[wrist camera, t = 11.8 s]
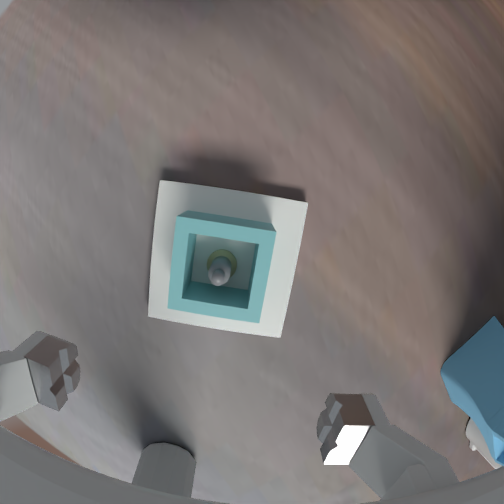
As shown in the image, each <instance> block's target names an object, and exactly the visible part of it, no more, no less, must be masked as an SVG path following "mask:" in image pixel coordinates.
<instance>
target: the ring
mask: <svg viewBox="0 0 504 504" xmlns="http://www.w3.org/2000/svg"><path fill="white" fill-rule="evenodd" d="M197 234H199V235H206V236H212V237H218V238H225V239H231V240H237V241H244V242H250V243H256V245H255V251H254V257H253V263H252V268H251V274H250V280H249V286H248V290H245V289H238V288H232V287H226V286H215V285H213V284H207V283H201V282H195V281H191V277H192V269H193V260H194V252H195V244H196V236H197ZM275 238H276V230H275V228H274V226H273V225H272V224H271V223H266V222H259V221H253V220H247V219H241V218H235V217H228V216H222V215H216V214H209V213H202V212H196V211H189V210H187V211H185V212H183V213H182V214H180V215H178V216H176V224H175V233H174V242H173V251H172V260H171V271H170V282H169V294H168V307H167V308H168V309H173V310H179V311H184V312H190V313H195V314H201V315H207V316H213V317H219V318H226V319H232V320H239V321H246V322H253V323H259V322H260V317H261V311H262V306H263V301H264V296H265V291H266V286H267V280H268V275H269V270H270V265H271V259H272V254H273V249H274V243H275Z"/></svg>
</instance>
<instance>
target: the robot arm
mask: <svg viewBox="0 0 504 504" xmlns="http://www.w3.org/2000/svg"><path fill="white" fill-rule="evenodd" d="M77 356H78V351H77V346H76V345H75V344H73V343H71V342H68V341H65V340H63V339H60V338H57V337H55V336H52V335H49V334H47V333H44V332H42V331H36V332H35V333H34V334H32V335H31V336H30V337H29V338H28V339H26V340H25V341H24V342H23V343H22V344H20V345H19V346H18V347H17V348H16V349H15V350H13V351H12V352H11V351H9V350H8V351H3V352H0V421H2V420H5V419H7V418H9V417H11V416H14V415H16V414H18V413H20V412H22V411H24V410H27V409H29V408H31V407H33V406H35V405H37V404H38V403H40V404H42V405H45V406H47V407H49V408H52V409H54V410H57V411H60V409H61V408H62V407H63V405H64V404H65V403H66V401H67V400H68V398H67V394H68V393H71V392H73V391H74V390H75V389H76V387H77V386H78V383H79V380H80V366H79V364H78V363H77V362H76V360H75V359H76V357H77ZM325 404H326V409H325V410H323V411H322V412H321V413H320V416H319V418H318V422H317V437H318V439H319V440H320V441H321V442H322V443H323V444H322V446H321V448H320V451H321V455H322V459H323V464H349V466H350V467H351V468H352V470H353V471H354V472H355V473H356V474H357V475H358V476H359V477H360V478H361V479H362V480H363V481H364V482H365V483H366V484H367V485H368V486H369V487H370V488H371V489H372V490H373V491H374V492H375V493H376V494H377V495H378V496H379V497H380V498H381V499H380V501H376V502H369V503H361V504H504V466H502V465H500V464H498V463H496V462H495V461H494V459H493V458H492V456H491V454H490V451H489V449H488V446H487V444H486V442H485V439H484V437H483V435H482V433H481V432H480V430H479V428H478V427H477V425H476V424H475V422H474V421H473V420H472V419H471V418H470V420H469V422H468V425H467V428H466V436H467V438H468V439H469V440H470V448H471V449H472V450H476V449H477V450H478V451H479V452H480V453H481V454H482V455H483V456H484V458H485V459H486V460H487V461H488V462H489V463H490V464H491V465H492V466H493V467H494V468H495V470H493V471H490V472H487V473H485V474H482V475H480V476H477V477H474V478H471V479H468V480H465V481H462V482H459V480H458V478H457V476H456V475H455V473H454V471H453V469H452V467H451V466H450V464H449V462H448V460H447V459H446V458H445V457H444V456H442V455H441V454H439V453H437V452H436V451H434V450H432V449H431V448H429V447H428V446H426V445H425V444H423V443H421V442H420V441H418V440H417V439H415V438H414V437H412V436H411V435H409V434H407V433H406V432H404V431H403V430H401V429H400V428H398V427H397V426H395V425H390V423H389V421H388V419H387V417H386V415H385V413H384V411H383V409H382V407H381V405H380V403H379V401H378V399H377V397H376V395H374V394H339V393H330V394H329V395H328V397H327V399H326V401H325ZM0 504H228V503H220V502H213V501H206V500H200V499H194V498H189V497H184V496H179V495H174V494H169V493H165V492H161V491H157V490H153V489H149V488H145V487H142V486H138V485H134V484H131V483H128V482H125V481H121V480H118V479H115V478H112V477H109V476H106V475H104V474H101V473H98V472H95V471H93V470H90V469H87V468H85V467H82V466H80V465H77V464H75V463H73V462H70V461H68V460H66V459H63V458H61V457H59V456H57V455H55V454H53V453H50V452H48V451H46V450H44V449H42V448H40V447H38V446H36V445H34V444H32V443H31V442H28V441H27V440H25V439H23V438H21V437H19V436H18V435H16V434H14V433H13V432H11V431H9V430H7V429H6V428H4V427H3V426H1V425H0Z"/></svg>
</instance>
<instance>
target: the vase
mask: <svg viewBox="0 0 504 504" xmlns="http://www.w3.org/2000/svg"><path fill="white" fill-rule="evenodd" d="M441 376H442V379H443V381H444V384H445V386H446V389H447V391H448V394H449V396H450V399H451V401H452V402H453V403H454V404H456V405H457V406H458V407H460V408H461V409H462V410H463V411H464V412H466V413H467V414H468V415H469V416H470V418H471V419H472V420H473V421H474V422H475V424H476V425H477V427H478V428H479V430H480V432H481V433H482V435H483V437H484V439H485V442H486V444H487V446H488V449H489V451H490V454H491V456H492V458H493V459H494V461H495V462H496V463H498V464H500V465H502V466H504V328H503V326H502V325H501V324H500V323H499V321H498V320H497V319H496V317H495V316H493V317H492V318H491V319H490V320H489V321H488V322H487V323H486V324H485V325H484V326H483V327H482V328H481V329H480V330H479V331H478V332H477V333H476V334H475V335H474V336H472V337H471V338H470V339H469V340H468V341H467V342H466V343H465V344H464V345H463V346H461V347H460V348H459V349H458V350H457V351H456V352H455V353H453V354H452V355H451V356H450V357H449V358H448V359H447V360H446V361H445V363H444V364H443V366H442V368H441Z"/></svg>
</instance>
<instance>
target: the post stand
mask: <svg viewBox="0 0 504 504" xmlns="http://www.w3.org/2000/svg"><path fill="white" fill-rule="evenodd" d="M307 207H308V203H307V202H303V201H297V200H292V199H286V198H281V197H275V196H269V195H263V194H257V193H251V192H245V191H238V190H232V189H225V188H218V187H212V186H204V185H197V184H190V183H182V182H174V181H166V180H160V184H159V191H158V199H157V207H156V216H155V225H154V235H153V246H152V257H151V271H150V286H149V306H148V317H153V318H158V319H163V320H169V321H174V322H179V323H185V324H190V325H196V326H202V327H208V328H214V329H221V330H227V331H234V332H241V333H248V334H255V335H263V336H271V337H279V338H280V337H281V332H282V328H283V324H284V319H285V315H286V310H287V306H288V301H289V297H290V292H291V287H292V283H293V278H294V273H295V268H296V263H297V258H298V254H299V249H300V243H301V238H302V233H303V228H304V223H305V217H306V212H307ZM187 210H189V211H196V212H202V213H209V214H216V215H222V216H228V217H235V218H241V219H247V220H253V221H259V222H266V223H271V224H272V225H273V226H274V228H275V230H276V238H275V243H274V249H273V254H272V259H271V265H270V270H269V275H268V280H267V286H266V291H265V296H264V301H263V306H262V311H261V317H260V322H259V323H253V322H246V321H239V320H232V319H226V318H219V317H213V316H207V315H201V314H195V313H190V312H184V311H179V310H173V309H168V308H167V307H168V294H169V282H170V271H171V260H172V251H173V242H174V233H175V224H176V216H178V215H180V214H182V213H183V212H185V211H187ZM255 245H256V243H250V242H244V241H237V240H231V239H225V238H218V237H212V236H206V235H199V234H197V236H196V244H195V252H194V260H193V269H192V277H191V281H195V282H201V283H207V284H213V285H215V286H226V287H232V288H238V289H245V290H248V286H249V280H250V274H251V268H252V263H253V257H254V251H255Z"/></svg>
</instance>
